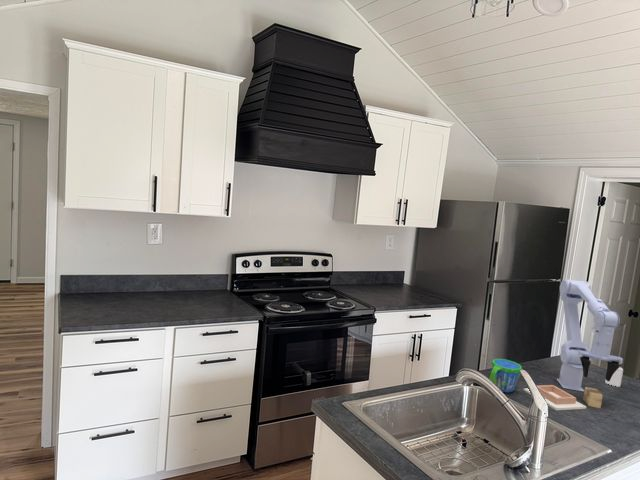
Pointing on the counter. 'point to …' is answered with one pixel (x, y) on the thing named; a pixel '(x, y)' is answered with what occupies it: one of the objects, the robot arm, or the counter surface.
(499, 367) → the snack cup
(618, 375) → the eye dropper bottle
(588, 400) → the oak key block
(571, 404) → the tray
